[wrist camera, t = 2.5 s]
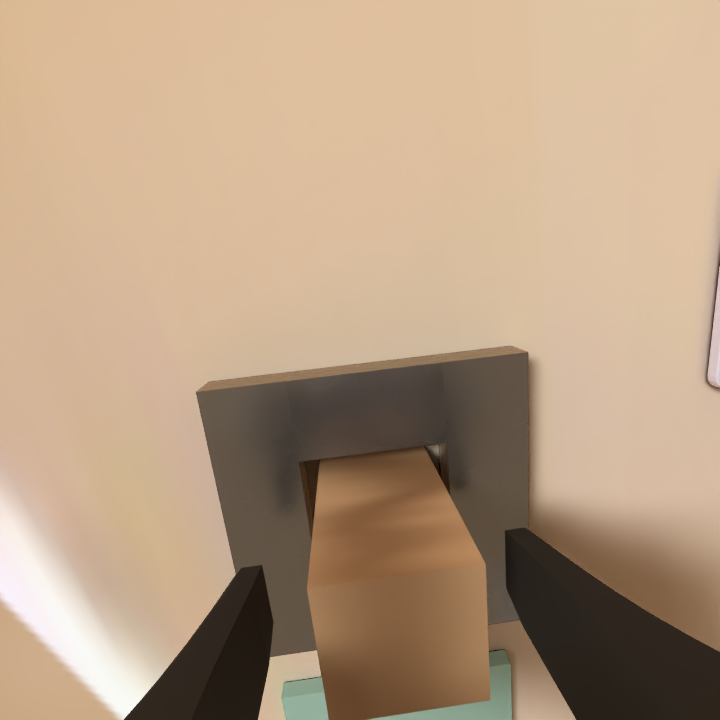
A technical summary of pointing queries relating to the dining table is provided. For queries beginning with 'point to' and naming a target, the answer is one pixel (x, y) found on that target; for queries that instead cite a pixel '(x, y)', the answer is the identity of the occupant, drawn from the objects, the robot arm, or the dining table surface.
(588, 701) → the robot arm
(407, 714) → the mat
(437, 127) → the dining table surface
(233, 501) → the socket plate
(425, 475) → the brown block
